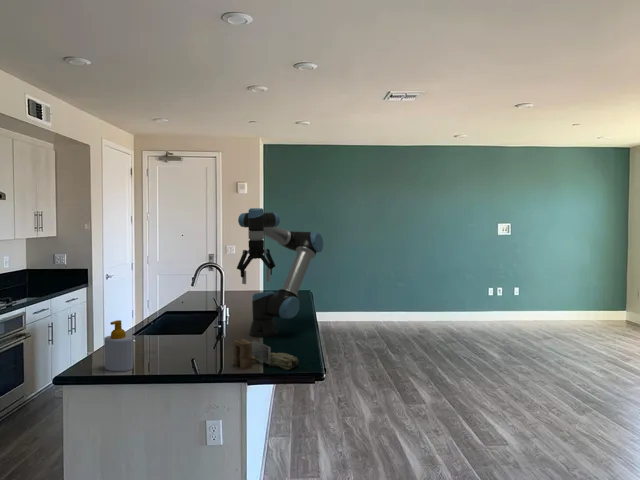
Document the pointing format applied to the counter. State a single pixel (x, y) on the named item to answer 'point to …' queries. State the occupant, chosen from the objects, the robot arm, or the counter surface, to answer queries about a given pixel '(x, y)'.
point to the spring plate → (261, 352)
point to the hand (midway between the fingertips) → (256, 282)
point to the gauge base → (243, 353)
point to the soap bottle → (118, 349)
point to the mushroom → (283, 361)
